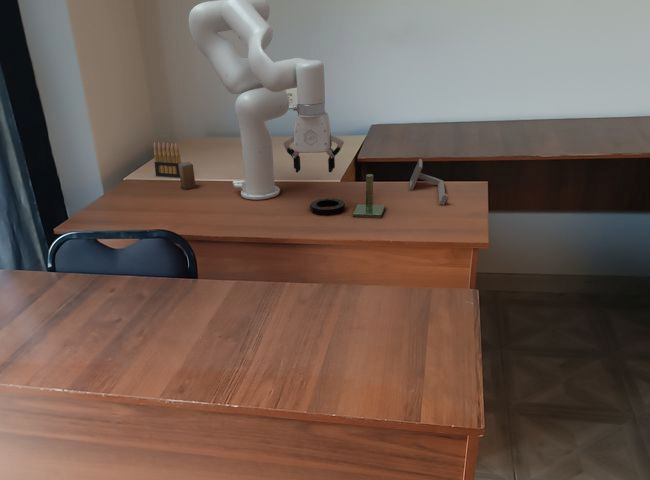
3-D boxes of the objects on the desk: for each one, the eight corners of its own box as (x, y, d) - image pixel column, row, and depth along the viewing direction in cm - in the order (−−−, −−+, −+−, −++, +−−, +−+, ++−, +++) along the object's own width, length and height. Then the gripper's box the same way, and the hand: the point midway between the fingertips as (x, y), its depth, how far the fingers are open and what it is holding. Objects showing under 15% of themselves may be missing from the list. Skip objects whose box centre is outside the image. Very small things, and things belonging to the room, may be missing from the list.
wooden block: (196, 187, 225) (193, 163, 221) (185, 189, 224) (181, 166, 220) (191, 184, 228) (188, 161, 224) (180, 186, 227) (177, 163, 223)
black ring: (307, 214, 195) (307, 208, 194) (314, 203, 203) (314, 197, 202) (341, 216, 192) (341, 210, 191) (347, 204, 200) (347, 198, 199)
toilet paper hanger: (439, 214, 195) (450, 191, 191) (409, 204, 195) (419, 180, 191) (437, 190, 214) (447, 168, 210) (409, 180, 214) (419, 158, 210)
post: (353, 217, 191) (353, 179, 185) (357, 207, 197) (357, 170, 191) (381, 218, 188) (382, 179, 183) (384, 208, 195) (385, 171, 189)
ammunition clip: (184, 176, 238) (179, 142, 231) (181, 177, 236) (176, 143, 230) (158, 174, 242) (153, 140, 236) (155, 175, 240) (150, 142, 234)
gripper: (278, 113, 183) (282, 174, 192) (340, 111, 178) (341, 174, 187) (284, 107, 189) (288, 167, 198) (345, 105, 184) (346, 167, 193)
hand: (314, 171), depth 192 cm, fingers open, 9 cm apart
